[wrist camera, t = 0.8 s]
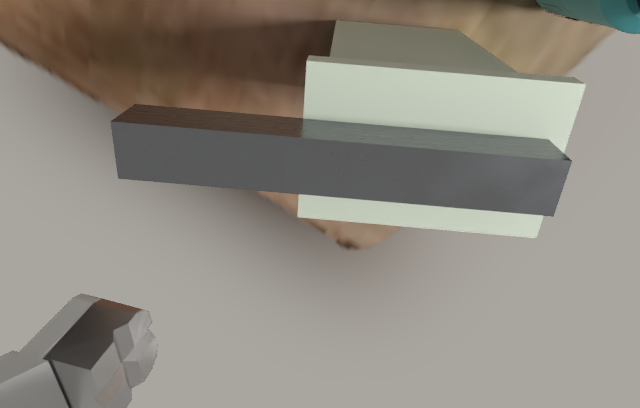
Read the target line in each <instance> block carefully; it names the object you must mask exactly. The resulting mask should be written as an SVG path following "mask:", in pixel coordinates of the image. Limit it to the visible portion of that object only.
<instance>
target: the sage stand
mask: <svg viewBox="0 0 640 408" xmlns="http://www.w3.org/2000/svg"><path fill="white" fill-rule="evenodd" d="M585 86H586V84H585V83H583V82H581V81H579V80H578V79H576V78H574V77H563V76H551V75H539V74H527V73H518V72H516V71H515V70H514V69H512V68H511V67H509V66H508V65H507V64H505V63H504V62H502V61H501V60H499V59H498V58H497V57H495V56H494V55H492V54H491V53H489V52H488V51H487V50H485V49H484V48H482V47H481V46H480V45H478V44H477V43H475V42H474V41H472V40H471V39H470V38H468V37H467V36H465V35H464V34H462V33H461V32H460V31H458V30H449V29H437V28H425V27H413V26H401V25H389V24H376V23H364V22H352V21H340V20H336V24H335V30H334V35H333V41H332V46H331V52H330V57H324V56H312V55H309V56H308V58H307V61H306V79H305V96H304V114H303V118H304V119H315V120H327V121H339V122H351V123H362V124H374V125H386V126H397V127H409V128H421V129H433V130H444V131H456V132H468V133H479V134H491V135H503V136H515V137H526V138H538V139H549V140H550V141H551V142H552V143H553V144H554V145H555V146H556V147H557V148H558V149H560V150H561V151H562V152H563V153H564V151H565V148H566V145H567V142H568V139H569V136H570V132H571V130H572V126H573V123H574V120H575V117H576V114H577V111H578V108H579V105H580V102H581V99H582V95H583V93H584V90H585ZM298 217H303V218H314V219H325V220H337V221H348V222H359V223H371V224H382V225H393V226H405V227H417V228H428V229H439V230H450V231H463V232H473V233H484V234H496V235H507V236H519V237H530V238H536V237H537V234H538V231H539V228H540V225H541V222H542V219H543V215H531V214H520V213H508V212H497V211H485V210H474V209H462V208H451V207H440V206H428V205H417V204H405V203H394V202H382V201H371V200H359V199H348V198H337V197H325V196H314V195H302V194H299V201H298Z"/></svg>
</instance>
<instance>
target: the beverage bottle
mask: <svg viewBox="0 0 640 408" xmlns="http://www.w3.org/2000/svg"><path fill="white" fill-rule="evenodd" d="M536 1H537V2H538V4H539V5H540V6H541V7H542V8H544V9H545V10H547V11H549V12H551V13H552V14H553V13H556V14H558V15H562V17H563V16H567V17H565V18H566V19H567V18H569V19H573V20H577V22H578V20H582V21H586V22H590V24H592V23H596V24H600V25H604V26H608V27H611V28H615V29H617V30H619V31H622V32H626V33H631V34H640V0H536ZM544 9H543V11H544ZM555 16H557V15H555ZM570 17H571V18H570ZM574 18H575V19H574Z"/></svg>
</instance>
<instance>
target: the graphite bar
mask: <svg viewBox="0 0 640 408" xmlns="http://www.w3.org/2000/svg"><path fill="white" fill-rule="evenodd" d="M111 127H112V135H113V143H114V149H115V157H116V165H117V173H118V178H119V179H131V180H143V181H154V182H165V183H176V184H189V185H200V186H211V187H222V188H235V189H245V190H257V191H268V192H279V193H291V194H302V195H314V196H325V197H337V198H348V199H359V200H371V201H382V202H394V203H405V204H417V205H428V206H440V207H451V208H462V209H474V210H485V211H497V212H508V213H520V214H531V215H543V216H554V213H555V210H556V207H557V204H558V201H559V198H560V195H561V192H562V189H563V186H564V183H565V180H566V177H567V174H568V171H569V168H570V165H571V162H572V161H571V160H570V159H569V158H568V157H567V156H566V155H565V154H564V153H563V152H562V151H561V150H560V149H558V148H557V147H556V146H555V145H554V144H553V143H552V142H551V141H550V140H549V139H538V138H526V137H515V136H503V135H491V134H479V133H468V132H456V131H444V130H433V129H421V128H409V127H397V126H386V125H374V124H362V123H351V122H339V121H327V120H315V119H304V118H292V117H280V116H268V115H257V114H245V113H233V112H222V111H210V110H198V109H186V108H175V107H163V106H151V105H140V104H135V105H133V106H132V107H130V108H129V109H128V110H126V111H125V112H123V113H122V114H120V115H119V116H118V117H117V118H115V119H114V120H112V121H111Z"/></svg>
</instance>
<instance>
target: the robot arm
mask: <svg viewBox="0 0 640 408" xmlns="http://www.w3.org/2000/svg"><path fill="white" fill-rule="evenodd" d="M151 323H152V320H151V317H150V313H149V311H146V310H143V309H139V308H135V307H131V306H127V305H124V304H120V303H116V302H113V301H109V300H105V299H102V298H98V297H93V296H89V295H85V294H80V295H78V296H76V297H73V298H72V299H71V300H70V301H69V302H68V303H67V304H66V305H65V306H64V307H63V308H62V309H61V310H60V311H59V312H58V313H57V314H56V315H55V316H54V317H53V318H52V319H51V320H50V321H49V322H48V323H47V324H46V325H45V326H44V327H43V329H41V330H40V332H38V333H37V334H36V335H35V336H34V337H33V339H31V340H30V342H29V343H28V344H27V345H26V346H25V347H24V348H23V349H22V350H21V351H20V352H16V351H11V352H9V353H6V354H4V355H2V356H0V408H127V406H128V405H129V403H130V402H131V400H132V393H131V389H132V388H133V387H135V386H137V385H138V384H140V383H142V382H144V381H145V379H146V378H147V376H148V375H149V373H150V372H151V370H152V368H153V365H154V362H155V359H156V357H157V346H158V345H157V340H156V337H155V336H154V335H153V333H152V332H151V331H150V330H149V329H148V327H149V326H150V325H151Z"/></svg>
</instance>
